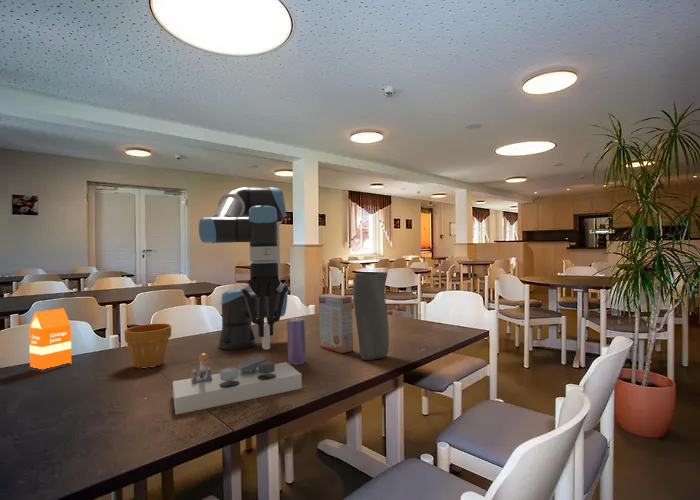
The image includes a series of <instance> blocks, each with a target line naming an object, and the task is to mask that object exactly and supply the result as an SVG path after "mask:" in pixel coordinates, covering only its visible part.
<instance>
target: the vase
mask: <svg viewBox="0 0 700 500" xmlns="http://www.w3.org/2000/svg"><path fill="white" fill-rule="evenodd" d="M388 274H389V273H388V272H374V271H371V272H369V271H366V272H358V273H357V272H356V273H354V277H353V279H354V280H353V287H352V288H353V289H352V291H353V295H352V300H353V308H354V317H355V321H356V322H355V323H356V330H357V337H358V349H359V356H360V358H361V360H364V361H373V360H377V359H382V358H384V357H386V356H387V355H388V352H389V343H390V342H389V341H390V340H389V339H390V337H389V336H390V335H389V334H390V333H389V319H388V317H389V316H388V310H387V304H386V297H385V292H386V290H385V289H386V283H387V282H386V281H387V278H388Z"/></svg>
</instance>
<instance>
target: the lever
mask: <svg viewBox="0 0 700 500" xmlns="http://www.w3.org/2000/svg"><path fill="white" fill-rule="evenodd" d="M197 359H198V363H199V371H198V377H200V378H204V377H205V376H206V373H207V363H208V362H209V360H210V356H209V354H208V353H206V352H203V353H200V354H199V356H198V357H197Z"/></svg>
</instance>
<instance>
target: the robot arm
mask: <svg viewBox="0 0 700 500" xmlns="http://www.w3.org/2000/svg"><path fill="white" fill-rule="evenodd" d="M285 203H286V201H285V195H284V191H283V190H282V189H281V188H279V187H273V186H272V187H271V186H270V187H267V186H265V187H255V186H253V187H247V186H246V187H243V186H242V187H238V188H235V189H232V190H230V191H228V192H226V193H224V194H223V195H222V196H221V197H220V199H219V200H218V203H217V205H218V206H217V209H216V211H215V213H214V214H213V216H212V217H211V216H207V217H201V218H200V219H199V222H198V236H199V239H200V242H202V243H206V244H207V243H208V244H209V243H210V244H221V243H223V244H224V243H225V244H226V243H228V244H230V243H249V261H250V262H251V263H250V265H249V270H250V271H249V274H250V276H249V278H250V279H249V281H248V285H247V286H245V287H239V288H238V287H237V288H233V289H229V290H226V291H224V292H223V293H222V294H221V302H220V305H221V322H222V324H221V325H222V326H221V330H220V334H219V337H218V340H217V347H218V348H219V349H222V350H242V349H248V348H250V347H253V346H255V345H256V344H257V336H256V334H255V330H254V329H253V326H252V324H254V325H257V333H258V337H259V338H261V347H262V349H263V350H270V349H271V337H272V336H273V335H274V324H275V323H277V322H279V321H280V320H281V318H282V317H284V316H285V315H286V313H287V311H286V310H287V306H288V295H289V294H288V293H289V292H288V290H289V287H288V286H285V285H284V284H283V283H282V282H281V253H280V252H281V248H280V247H281V244H280V225H281V224H282V223H283V222H284V218H285V217H287V211H286V209H287V208H286V204H285ZM265 319H266V323H265Z"/></svg>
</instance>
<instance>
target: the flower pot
mask: <svg viewBox="0 0 700 500" xmlns="http://www.w3.org/2000/svg"><path fill="white" fill-rule="evenodd" d="M171 337H172V325H171V324H169V323H148V324H142V325H135V326H132V327H128V328H126V329H124V341H125V343H127V344H128V348H129V350H130V356H131V359H132V363H133V365H134V366H133V367H135V366H136V367H150V366H156V365H159V364H161V365H163V364H162V363H164V362H165V356H166V352H167V347H168V343H169V339H170V338H171ZM159 366H160V365H159Z"/></svg>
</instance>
